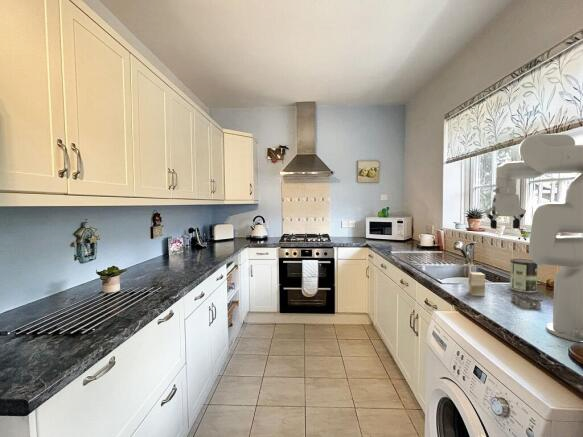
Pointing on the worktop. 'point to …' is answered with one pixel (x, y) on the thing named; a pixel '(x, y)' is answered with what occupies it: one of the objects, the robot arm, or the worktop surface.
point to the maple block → (476, 284)
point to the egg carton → (526, 301)
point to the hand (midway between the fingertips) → (504, 228)
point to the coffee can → (523, 275)
